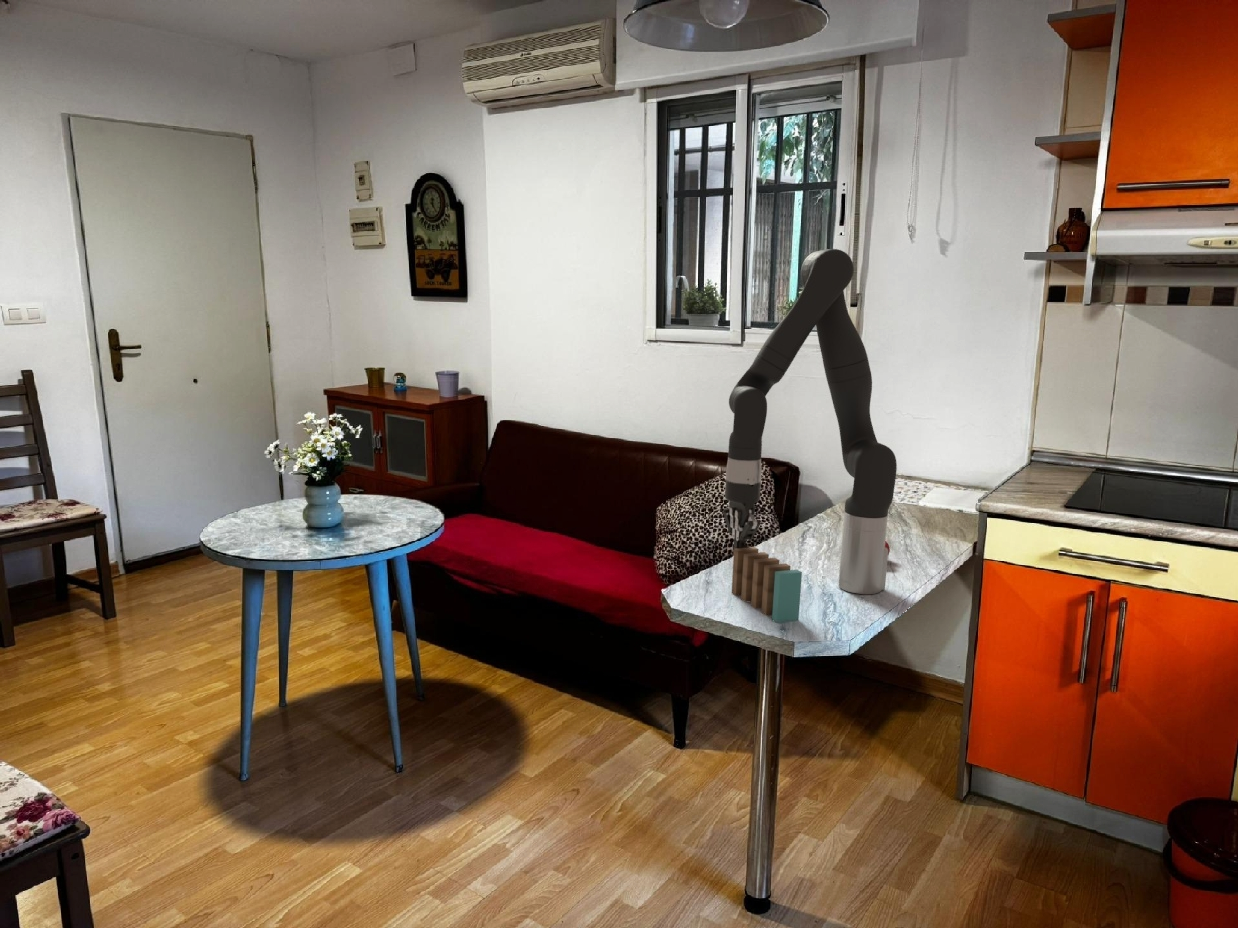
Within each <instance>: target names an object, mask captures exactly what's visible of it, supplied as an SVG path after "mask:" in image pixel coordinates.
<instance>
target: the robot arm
mask: <svg viewBox="0 0 1238 928" xmlns="http://www.w3.org/2000/svg"><path fill="white" fill-rule="evenodd" d="M854 271H855V270H854V263H853V261H852V258H851V257H850V255H849V254H848V253H847V252H846V251H843V250H841V249H837V248H829V249H828V248H827V249H822V250H821V249H820V250H817V251H813V252H811V253H810V254H808V255H807V257H806V258H805V259H804V260H803V262H802V265H801V269H800V279H801V283H802V287H803V289H802V291H801V293H800V294H799V296H798V298H797V300H796V301H795V303H794V304H793V306H792V307H791V309H790V310H789V311H788V313H787V314H785V316H784V317H783V319H782V320H781V321H780V322H779V323H778V324H777V326H776V327H774V329H773V330H772V331H771V333H770V334H769V335H768V337H767V339H766V340H765V341H764V343H763V345H762V346H761V348H760V349H759V351H758V353H757V355H756V356H755V358H754V360H753V362H752V364H751V365H750V366H749V368H747V370H746V371H745V373H743V375H742V376H741V377H740V378H739V380H738V382H736V384H735V385H734V388H733V389H732V391H731V392H730V395H729V398H728V406H729V409H730V411H731V412H732V413H733V423H732V425H733V427H732V432H731V433H730V435H729V439H728V450H727V451H728V455H727V463H726V470H725V486H724V487H725V490H724V498H725V499H726V501H727V502H729V503H728V504H729V505H728V508H723V509H722V510H723V511H722V513H723V517H724V519H725V525H726V527H727V531H728V534H729V535H732V536H731V537H732V539H733V553H732V554H733V556H734V549H735V548H746V546H747V545H746V543H747V541H748V540H750V541H751V540H753V538H754V536H755V534H756V533H757V531H758V529H759V528H760V526H761V521H760V520H756V518H755V513H756V511H755V504H756V503H758V502H759V501H761V500H760V499H761V485H762V470H763V469H762V452H763V451H762V449H763V448H762V447H763V435H764V431H765V426H766V425H765V424H766V420H767V413H768V401H767V397H766V396H767V395H768V393H769V392H770V390H771V389H772V388H773V386H774V385H776V384H777V383H779V382H780V381H782V379H783V377H784V376H785V374H786V372H787V371H788V369H789V367H791V364H792V363H793V361H794V359H795V358H796V357H797V355H798V352H799V351H800V350H801V348H802V347H803V345H804V343H805V342H806V340H807V338H808V337H809V335H810V334H811V333H812V331H813V330H814V328H815V327H816V334H817V339H818V343H819V350H820V352H821V358H822V363H823V368H824V373H825V378H826V381H827V386H828V389H829V393H830V397H831V401H832V404H833V409H834V412H835V416H836V420H837V424H838V429H839V437H840V446H841V454H842V461H843V466H844V469H845V470H846V472H847V473H848V474H849V475H850V476H851V478H853V479H854V480H853V487H852V492H851V496H849V497H847V498H846V499H845V502H844V511H843V512H844V513H843V527H842V537H841V538H842V540H841V548H840V549H841V552H840V561H839V564H840V565H839V575H838V587H839V588H840V590H841V589H842V590H843V591H846V592H849V593H853V594H858V595H859V594H860V595H874V594H879V593H880V592H881V591H885V590H886V582H887V581H886V580H887V572H888V571H887V569H888V561H889V560H888V559H889V555H888V549H887V548H886V547H885V541H886V539H887V526H888V516H889V509H890V508H891V505H892V502H893V499H894V493H895V486H896V479H897V477H896V476H897V470H898V467H897V466H898V465H897V458H896V455H895V453H894V451H893V450H892V449H891V448H890V447H888V446H887V445H885V444H883V443H879V442H878V440H877V437H876V434H875V430H874V427H873V423H872V418H871V401H872V400H871V398H872V391H873V390H872V389H873V378H872V371H871V367H870V363H869V362H870V361H869V357H868V354H867V351H866V347H865V345H864V342H863V340H862V338H861V336H860V334H859V332H858V330H857V328H856V326H855V324H854V323H853V321H852V319H851V317H850V316H851V315H850V314H849V312H848V308H847V303H846V297H845V289H846V288H847V287H848V286H849V285H850V283H851V281H852V280H853V277H854ZM886 542H887V541H886Z"/></svg>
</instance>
